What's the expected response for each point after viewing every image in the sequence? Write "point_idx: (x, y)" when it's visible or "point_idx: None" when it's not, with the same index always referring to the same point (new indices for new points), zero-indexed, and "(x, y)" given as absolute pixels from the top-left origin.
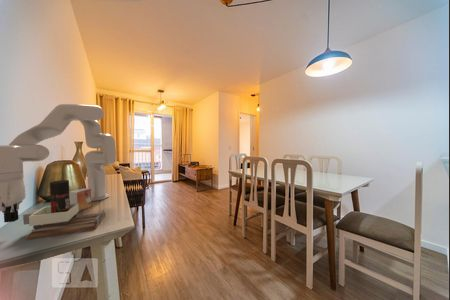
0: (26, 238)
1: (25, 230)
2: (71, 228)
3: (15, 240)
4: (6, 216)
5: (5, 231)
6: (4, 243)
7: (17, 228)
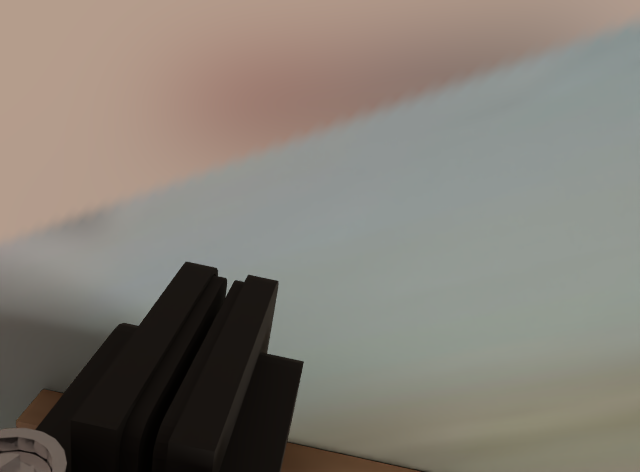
0: (34, 400)
1: (338, 318)
2: None
3: (70, 305)
4: (71, 401)
5: (470, 90)
6: (32, 232)
7: (496, 208)
